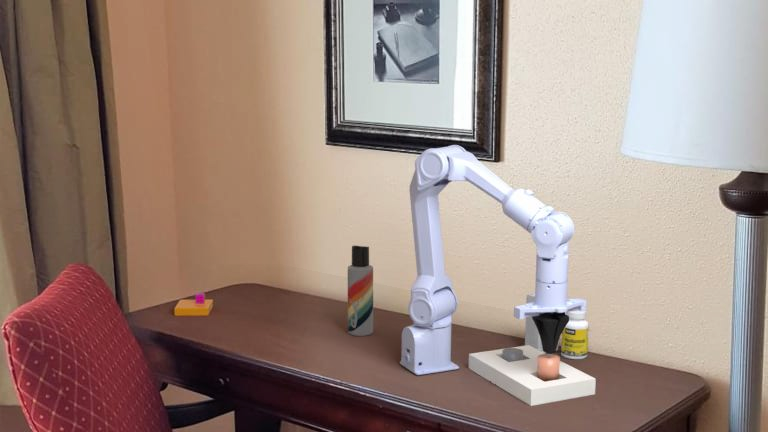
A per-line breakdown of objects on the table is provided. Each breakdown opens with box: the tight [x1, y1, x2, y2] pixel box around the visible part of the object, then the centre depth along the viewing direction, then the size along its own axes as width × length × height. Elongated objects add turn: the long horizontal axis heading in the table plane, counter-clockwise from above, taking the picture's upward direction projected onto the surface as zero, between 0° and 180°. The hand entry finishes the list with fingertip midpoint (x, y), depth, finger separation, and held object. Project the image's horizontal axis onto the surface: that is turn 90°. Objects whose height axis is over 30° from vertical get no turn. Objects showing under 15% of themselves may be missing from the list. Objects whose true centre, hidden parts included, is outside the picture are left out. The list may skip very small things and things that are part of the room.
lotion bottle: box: [347, 245, 374, 337], centre depth 206 cm, size 6×6×20 cm
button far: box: [502, 347, 523, 362], centre depth 182 cm, size 4×4×4 cm
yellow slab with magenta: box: [174, 292, 214, 316], centre depth 225 cm, size 8×8×4 cm
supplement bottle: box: [560, 310, 590, 360], centre depth 192 cm, size 5×5×10 cm
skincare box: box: [524, 292, 560, 354], centre depth 195 cm, size 6×4×12 cm
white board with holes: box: [468, 345, 597, 407], centre depth 177 cm, size 14×22×3 cm, turn 25°
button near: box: [537, 353, 561, 382], centre depth 171 cm, size 4×4×4 cm
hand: (549, 352), depth 171 cm, fingers closed
